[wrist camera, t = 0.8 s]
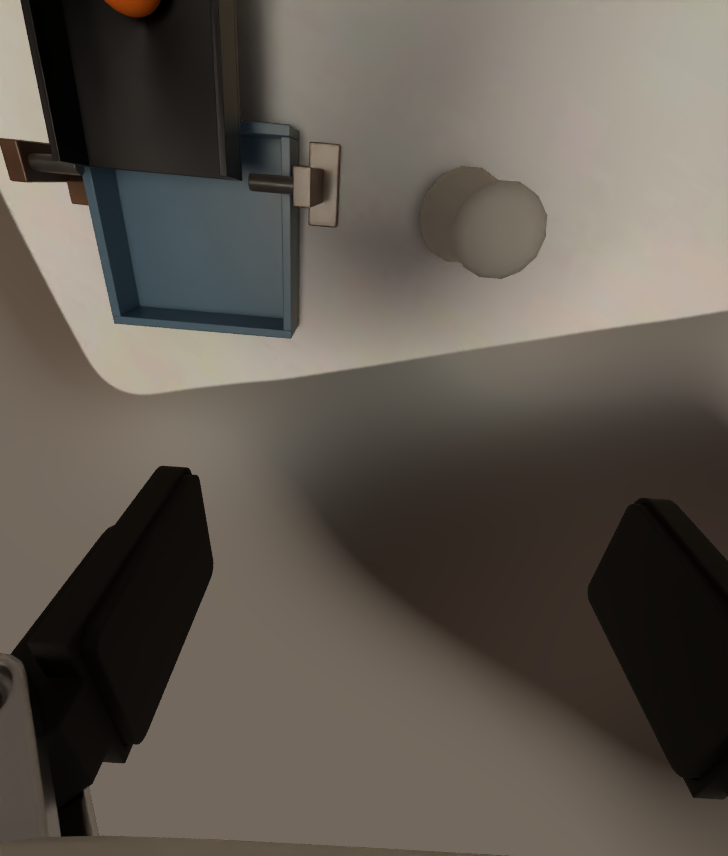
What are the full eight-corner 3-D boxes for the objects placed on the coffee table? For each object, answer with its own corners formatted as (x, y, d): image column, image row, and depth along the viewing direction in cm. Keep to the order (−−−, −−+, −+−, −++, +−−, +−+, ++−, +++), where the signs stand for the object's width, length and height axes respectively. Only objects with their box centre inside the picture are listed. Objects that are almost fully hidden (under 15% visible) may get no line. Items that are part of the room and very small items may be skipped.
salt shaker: (401, 229, 31) (415, 257, 20) (447, 149, 29) (493, 128, 18) (466, 272, 33) (513, 320, 21) (515, 198, 30) (598, 209, 19)
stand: (59, 118, 28) (-33, 101, 22) (340, 145, 29) (330, 135, 22) (78, 203, 31) (1, 209, 25) (337, 226, 31) (327, 238, 25)
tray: (99, 111, 28) (66, 103, 25) (299, 130, 28) (290, 124, 25) (136, 311, 35) (114, 323, 32) (298, 325, 35) (291, 338, 32)
